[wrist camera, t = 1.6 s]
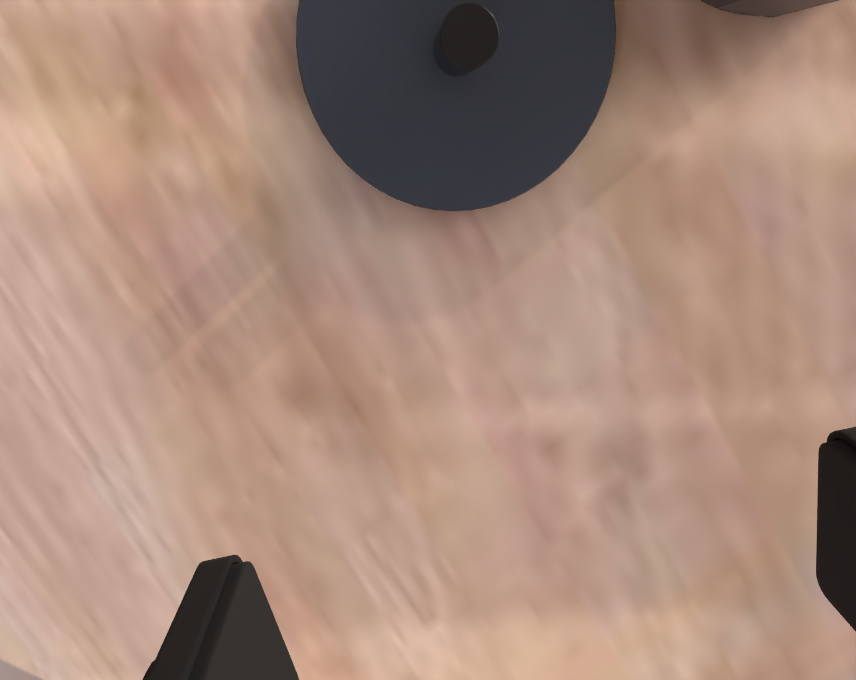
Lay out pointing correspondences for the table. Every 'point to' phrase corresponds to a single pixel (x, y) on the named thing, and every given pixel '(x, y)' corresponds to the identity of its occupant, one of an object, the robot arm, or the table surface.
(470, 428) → the table surface
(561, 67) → the pot lid
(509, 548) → the table surface
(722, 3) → the pot
